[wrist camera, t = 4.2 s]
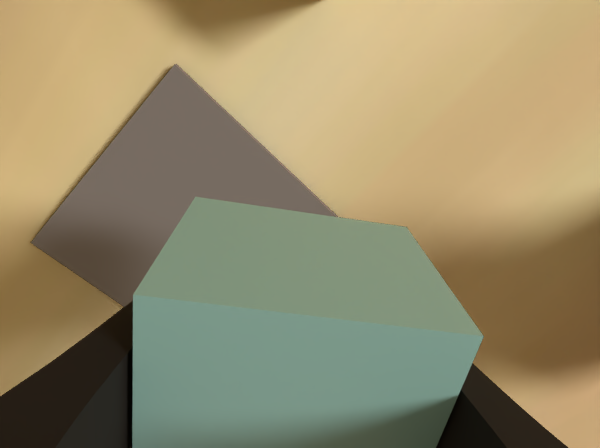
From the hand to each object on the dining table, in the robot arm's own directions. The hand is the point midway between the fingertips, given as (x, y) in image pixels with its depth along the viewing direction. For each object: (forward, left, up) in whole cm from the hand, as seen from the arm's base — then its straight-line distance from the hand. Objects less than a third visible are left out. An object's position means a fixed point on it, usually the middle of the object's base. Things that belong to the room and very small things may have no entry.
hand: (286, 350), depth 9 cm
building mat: (+2, +4, -9) cm, 10 cm away
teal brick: (0, 0, -2) cm, 2 cm away
